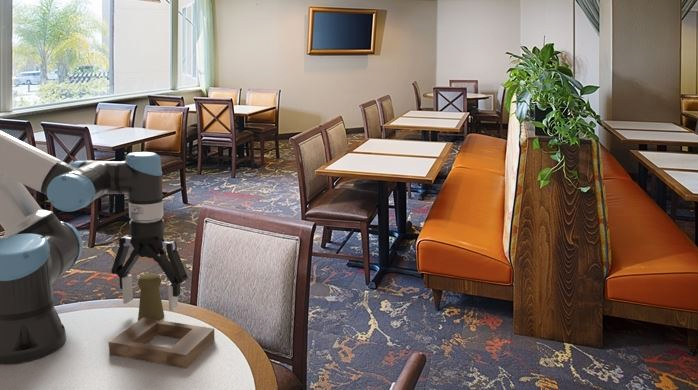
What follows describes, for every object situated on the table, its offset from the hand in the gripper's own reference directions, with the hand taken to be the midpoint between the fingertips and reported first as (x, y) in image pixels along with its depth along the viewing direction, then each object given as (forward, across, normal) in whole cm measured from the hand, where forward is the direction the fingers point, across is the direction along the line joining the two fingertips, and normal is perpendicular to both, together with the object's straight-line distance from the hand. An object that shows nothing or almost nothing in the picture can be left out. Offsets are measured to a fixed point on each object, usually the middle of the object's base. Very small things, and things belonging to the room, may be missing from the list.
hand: (150, 304), depth 128 cm
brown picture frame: (+3, +11, -12) cm, 17 cm away
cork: (+3, 0, 0) cm, 3 cm away
